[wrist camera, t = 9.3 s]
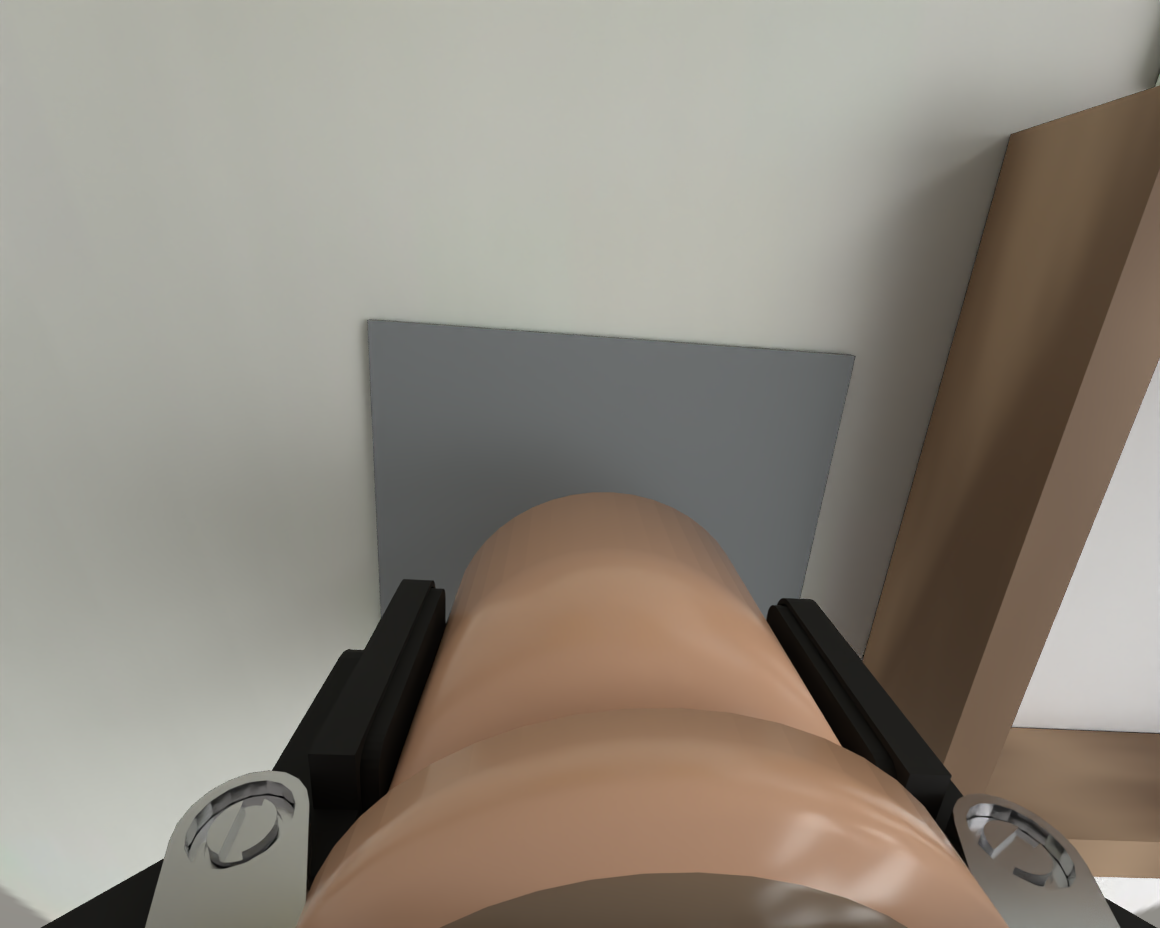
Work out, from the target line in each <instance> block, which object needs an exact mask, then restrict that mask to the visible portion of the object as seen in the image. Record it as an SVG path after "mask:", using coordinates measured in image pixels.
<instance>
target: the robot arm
mask: <svg viewBox="0 0 1160 928" xmlns="http://www.w3.org/2000/svg"><path fill="white" fill-rule="evenodd" d="M766 621H767V623H768V624H769V626H770V628H771V629H772V631H773V633H774V634H775V636H776V638H777V639H778V641H779V643H780V644H781V646H782V648H783V649H784V651H785V653H786V654H787V656H788V658H789V659H790V661H791V663H792V664H793V666H794V668H795V669H796V671H797V673H798V674H799V676H800V678H801V679H802V681H803V683H804V684H805V686H806V688H807V689H808V691H809V693H810V694H811V696H812V698H813V699H814V701H815V703H816V704H817V706H818V708H819V709H820V711H821V713H822V714H823V716H824V718H825V719H826V721H827V723H828V724H829V726H830V728H831V729H832V731H833V733H834V734H835V736H836V738H837V739H838V741H839V743H840V744H841V746H842V747H843V748H845V749H847V750H849V751H851V752H853V753H855V754H857V755H859V756H861V757H864V758H865V759H866V760H868V761H869V762H871V763H872V764H874V765H875V766H877V767H878V768H880V769H881V770H882V771H884V772H885V773H887V774H888V775H890V776H891V777H893V778H894V779H896V780H897V781H898V782H899V783H900V784H901V785H902V786H903V787H904V788H905V789H907V790H908V791H909V792H910V793H911V794H912V795H913V796H914V797H915V798H916V799H917V800H918V801H919V802H920V803H921V804H922V805H923V806H924V807H925V808H926V809H927V811H928V812H929V813H930V815H931V816H932V818H933V819H934V820H935V822H936V823H937V824H938V826H939V827H940V828H941V830H942V831H943V832H944V834H945V835H946V837H947V838H948V840H949V841H950V842H951V844H952V845H953V847H954V848H955V850H956V851H957V853H958V854H959V855H960V857H961V858H962V860H963V861H964V863H965V864H966V866H967V867H968V868H969V870H970V871H971V873H972V874H973V876H974V877H975V879H976V880H977V881H978V883H979V884H980V886H981V887H982V889H983V890H984V892H985V893H986V894H987V896H988V897H989V899H990V900H991V902H992V903H993V905H994V906H995V908H996V909H997V910H998V912H999V913H1000V915H1001V916H1002V918H1003V919H1004V921H1005V922H1006V923H1007V925H1008V926H1009V928H1156V927H1155V926H1153V925H1151V924H1149V923H1148V922H1146V921H1144V920H1142V919H1141V918H1139V917H1137V916H1136V915H1134V914H1132V913H1130V912H1129V911H1127V910H1125V909H1123V908H1122V907H1120V906H1118V905H1117V904H1115V903H1113V902H1111V901H1110V900H1108V899H1106V898H1104V896H1103V894H1102V892H1101V890H1100V888H1099V886H1098V885H1097V883H1096V881H1095V879H1094V877H1093V875H1092V873H1091V871H1090V869H1089V868H1088V866H1087V864H1086V863H1085V861H1084V860H1083V858H1082V857H1081V855H1080V854H1079V852H1078V851H1077V850H1076V848H1075V847H1074V846H1073V845H1072V844H1071V843H1070V842H1069V841H1068V840H1067V839H1066V838H1065V837H1064V836H1063V835H1062V834H1061V833H1060V832H1059V831H1058V830H1057V829H1055V828H1054V827H1053V826H1051V825H1050V824H1049V823H1047V822H1046V821H1045V820H1043V819H1042V818H1041V817H1039V816H1038V815H1036V814H1034V813H1032V812H1031V811H1029V810H1027V809H1025V808H1024V807H1022V806H1020V805H1018V804H1016V803H1013V802H1010V801H1008V800H1005V799H1003V798H1000V797H997V796H992V795H987V794H982V793H981V794H967V795H965V796H963V795H962V793H961V792H960V791H959V790H958V788H957V787H956V786H955V784H954V783H953V782H952V781H951V777H952V775H951V774H950V773H949V771H948V770H947V769H946V767H945V766H944V765H943V764H942V762H941V761H940V760H939V759H938V757H937V756H936V755H935V753H934V752H933V751H932V750H931V748H930V747H929V746H928V745H927V743H926V742H925V741H924V739H923V738H922V737H921V736H920V734H919V733H918V732H917V731H916V729H915V728H914V727H913V725H912V724H911V723H910V722H909V720H908V719H907V718H906V717H905V715H904V714H903V713H902V712H901V710H900V709H899V708H898V706H897V705H896V704H895V703H894V701H893V700H892V699H891V698H890V696H889V695H888V694H887V692H886V691H885V690H884V689H883V687H882V686H881V685H880V684H879V682H878V681H877V680H876V678H875V677H874V676H873V675H872V673H871V672H870V671H869V670H868V668H867V667H866V666H865V664H864V663H863V662H862V661H861V659H860V658H859V657H858V656H857V654H856V653H855V652H854V650H853V649H852V648H851V647H850V645H849V644H848V643H847V642H846V640H845V639H844V638H843V636H842V635H841V634H840V633H839V631H838V630H837V629H836V628H835V626H834V625H833V624H832V623H831V621H830V620H829V619H828V617H827V616H826V615H825V614H824V612H823V611H822V610H821V609H820V607H819V606H818V605H817V603H816V602H815V601H813V600H811V599H794V598H782V599H780V600H779V602H778V603H777V605H772V606H770V608H769V610H768V613H767V618H766ZM445 625H446V597H445V590H444V589H438V588H436V587H435V582H434V580H415V579H403V580H402V581H401V583H400V585H399V586H398V588H397V590H396V592H395V594H394V596H393V597H392V599H391V601H390V603H389V605H388V607H387V609H386V610H385V612H384V614H383V616H382V618H381V620H380V622H379V623H378V625H377V627H376V629H375V631H374V633H373V634H372V636H371V638H370V640H369V642H368V644H367V646H366V647H365V649H364V650H350V649H348V650H346V651H344V652H343V653H342V655H341V656H340V657H339V659H338V661H337V662H336V664H335V666H334V667H333V669H332V671H331V672H330V674H329V676H328V677H327V679H326V681H325V682H324V684H323V686H322V687H321V689H320V691H319V692H318V694H317V696H316V698H315V699H314V701H313V703H312V704H311V706H310V708H309V709H308V711H307V713H306V714H305V716H304V718H303V719H302V721H301V723H300V724H299V726H298V728H297V729H296V731H295V733H294V734H293V736H292V738H291V739H290V741H289V743H288V744H287V746H286V748H285V750H284V751H283V753H282V755H281V756H280V758H279V760H278V761H277V763H276V765H275V766H274V768H273V770H272V771H270V770H268V771H261V772H253V773H248V774H245V775H243V776H240V777H237V778H234V779H231V780H229V781H227V782H225V783H223V784H221V785H220V786H218V787H216V788H214V789H213V790H211V791H209V792H208V793H207V794H205V795H204V796H203V797H202V798H201V799H199V800H198V801H197V802H196V803H194V804H193V805H192V806H191V807H190V808H189V809H188V811H187V812H186V813H185V814H184V816H183V817H182V818H181V819H180V820H179V822H178V823H177V825H176V827H175V829H174V831H173V833H172V836H171V838H170V840H169V843H168V846H167V850H166V853H165V857H164V859H162V860H160V861H159V862H157V863H155V864H153V865H152V866H150V867H148V868H146V869H144V870H143V871H141V872H139V873H137V874H136V875H134V876H132V877H130V878H128V879H127V880H125V881H123V882H121V883H120V884H118V885H116V886H114V887H112V888H111V889H109V890H107V891H105V892H104V893H102V894H100V895H98V896H96V897H95V898H93V899H91V900H89V901H88V902H86V903H84V904H82V905H80V906H79V907H77V908H75V909H73V910H72V911H70V912H68V913H66V914H64V915H63V916H61V917H59V918H57V919H56V920H54V921H52V922H50V923H48V924H47V925H45V926H43V927H41V928H295V927H296V925H297V922H298V920H299V918H300V915H301V913H302V910H303V908H304V905H305V903H306V899H307V895H308V893H309V890H310V888H311V885H312V883H313V881H314V878H315V876H316V875H317V873H318V872H319V870H320V868H321V867H322V865H323V863H324V862H325V860H326V858H327V857H328V855H329V854H330V852H331V850H332V849H333V847H334V846H335V845H336V843H337V842H338V841H339V840H340V839H341V838H342V837H343V835H344V834H345V833H346V832H347V831H348V830H349V828H350V827H351V826H352V825H353V824H354V823H355V822H356V820H357V819H358V818H359V817H360V816H361V815H362V814H364V813H365V812H366V811H367V810H368V809H369V808H371V807H372V806H373V805H374V804H375V803H376V802H378V801H379V800H380V799H381V798H382V797H383V796H385V795H386V794H387V793H388V790H389V787H390V784H391V781H392V779H393V776H394V773H395V770H396V767H397V764H398V761H399V758H400V755H401V752H402V750H403V747H404V744H405V741H406V738H407V735H408V732H409V729H410V726H411V723H412V720H413V718H414V715H415V712H416V709H417V706H418V703H419V700H420V697H421V694H422V691H423V688H424V686H425V683H426V680H427V677H428V674H429V671H430V668H431V665H432V662H433V659H434V657H435V654H436V651H437V648H438V645H439V642H440V639H441V636H442V633H443V630H444V627H445Z"/></svg>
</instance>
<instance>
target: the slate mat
mask: <svg viewBox="0 0 1160 928" xmlns="http://www.w3.org/2000/svg"><path fill="white" fill-rule="evenodd" d="M367 321H368V342H369V364H370V386H371V408H372V430H373V452H374V473H375V495H376V517H377V539H378V561H379V583H380V604H381V618H382V616H383V614H384V612H385V610H386V609H387V607H388V605H389V603H390V601H391V599H392V597H393V596H394V594H395V592H396V590H397V588H398V586H399V585H400V583H401V581H402V580H403V579H415V580H434V582H435V587H436V588H438V589H444V590H445V597H446V622H447V619H448V616H449V613H450V610H451V607H452V604H453V601H454V598H455V596H456V593H457V590H458V587H459V584H460V582H461V579H462V577H463V575H464V572H465V570H466V568H467V567H468V565H469V563H470V562H471V560H472V558H473V557H474V555H475V554H476V553H477V551H478V550H479V549H480V548H481V546H482V545H483V544H484V543H485V541H486V540H487V539H489V538H490V537H491V536H492V535H493V534H494V533H495V532H496V531H497V530H498V529H499V528H500V527H502V526H503V525H505V524H506V523H507V522H509V521H510V520H511V519H513V518H514V517H516V516H518V515H519V514H521V513H523V512H525V511H527V510H529V509H531V508H532V507H535V506H537V505H540V504H543V503H545V502H548V501H550V500H554V499H558V498H562V497H566V496H570V495H575V494H583V493H591V492H614V493H623V494H631V495H636V496H640V497H644V498H648V499H652V500H655V501H657V502H660V503H663V504H665V505H668V506H670V507H672V508H674V509H676V510H678V511H680V512H681V513H683V514H685V515H687V516H688V517H690V518H691V519H692V520H694V521H695V522H696V523H698V524H699V525H700V526H702V527H703V528H704V529H705V530H706V531H707V532H708V533H709V534H710V535H711V536H712V537H713V538H714V539H715V540H716V541H717V542H718V544H719V545H720V546H721V548H722V549H723V550H724V552H725V553H726V554H727V556H728V558H729V559H730V561H731V563H732V564H733V566H734V568H735V569H736V571H737V573H738V574H739V576H740V578H741V579H742V581H743V583H744V584H745V586H746V588H747V589H748V591H749V593H750V594H751V596H752V598H753V599H754V601H755V603H756V604H757V606H758V608H759V609H760V611H761V613H762V614H763V616H764V618H765V619H766V618H767V613H768V610H769V608H770V606H772V605H777V603H778V602H779V600H780V599H782V598H794V599H800V596H801V591H802V587H803V583H804V578H805V574H806V570H807V565H808V561H809V556H810V552H811V548H812V543H813V539H814V535H815V530H816V526H817V522H818V517H819V513H820V509H821V504H822V500H823V495H824V491H825V487H826V482H827V478H828V474H829V469H830V465H831V461H832V456H833V452H834V447H835V443H836V439H837V434H838V430H839V426H840V421H841V417H842V413H843V408H844V404H845V400H846V395H847V391H848V386H849V382H850V378H851V373H852V369H853V365H854V360H855V356H853V355H845V354H831V353H818V352H804V351H791V350H777V349H764V348H750V347H736V346H723V345H709V344H696V343H682V342H669V341H655V340H642V339H628V338H614V337H601V336H587V335H574V334H560V333H547V332H533V331H520V330H506V329H492V328H479V327H465V326H452V325H438V324H425V323H411V322H398V321H384V320H367Z"/></svg>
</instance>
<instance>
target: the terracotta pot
mask: <svg viewBox="0 0 1160 928" xmlns="http://www.w3.org/2000/svg"><path fill="white" fill-rule="evenodd" d="M295 928H1009V926H1008V925H1007V923H1006V922H1005V921H1004V919H1003V918H1002V916H1001V915H1000V913H999V912H998V910H997V909H996V908H995V906H994V905H993V903H992V902H991V900H990V899H989V897H988V896H987V894H986V893H985V892H984V890H983V889H982V887H981V886H980V884H979V883H978V881H977V880H976V879H975V877H974V876H973V874H972V873H971V871H970V870H969V868H968V867H967V866H966V864H965V863H964V861H963V860H962V858H961V857H960V855H959V854H958V853H957V851H956V850H955V848H954V847H953V845H952V844H951V842H950V841H949V840H948V838H947V837H946V835H945V834H944V832H943V831H942V830H941V828H940V827H939V826H938V824H937V823H936V822H935V820H934V819H933V818H932V816H931V815H930V813H929V812H928V811H927V809H926V808H925V807H924V806H923V805H922V804H921V803H920V802H919V801H918V800H917V799H916V798H915V797H914V796H913V795H912V794H911V793H910V792H909V791H908V790H907V789H905V788H904V787H903V786H902V785H901V784H900V783H899V782H898V781H897V780H896V779H894V778H893V777H891V776H890V775H888V774H887V773H885V772H884V771H882V770H881V769H880V768H878V767H877V766H875V765H874V764H872V763H871V762H869V761H868V760H866V759H865V758H864V757H861V756H859V755H857V754H855V753H853V752H851V751H849V750H847V749H845V748H843V747H842V746H841V744H840V743H839V741H838V739H837V738H836V736H835V734H834V733H833V731H832V729H831V728H830V726H829V724H828V723H827V721H826V719H825V718H824V716H823V714H822V713H821V711H820V709H819V708H818V706H817V704H816V703H815V701H814V699H813V698H812V696H811V694H810V693H809V691H808V689H807V688H806V686H805V684H804V683H803V681H802V679H801V678H800V676H799V674H798V673H797V671H796V669H795V668H794V666H793V664H792V663H791V661H790V659H789V658H788V656H787V654H786V653H785V651H784V649H783V648H782V646H781V644H780V643H779V641H778V639H777V638H776V636H775V634H774V633H773V631H772V629H771V628H770V626H769V624H768V623H767V621H766V619H765V618H764V616H763V614H762V613H761V611H760V609H759V608H758V606H757V604H756V603H755V601H754V599H753V598H752V596H751V594H750V593H749V591H748V589H747V588H746V586H745V584H744V583H743V581H742V579H741V578H740V576H739V574H738V573H737V571H736V569H735V568H734V566H733V564H732V563H731V561H730V559H729V558H728V556H727V554H726V553H725V552H724V550H723V549H722V548H721V546H720V545H719V544H718V542H717V541H716V540H715V539H714V538H713V537H712V536H711V535H710V534H709V533H708V532H707V531H706V530H705V529H704V528H703V527H702V526H700V525H699V524H698V523H696V522H695V521H694V520H692V519H691V518H690V517H688V516H687V515H685V514H683V513H681V512H680V511H678V510H676V509H674V508H672V507H670V506H668V505H665V504H663V503H660V502H657V501H655V500H652V499H648V498H644V497H640V496H636V495H631V494H623V493H614V492H591V493H583V494H575V495H570V496H566V497H562V498H558V499H554V500H550V501H548V502H545V503H543V504H540V505H537V506H535V507H532V508H531V509H529V510H527V511H525V512H523V513H521V514H519V515H518V516H516V517H514V518H513V519H511V520H510V521H509V522H507V523H506V524H505V525H503V526H502V527H500V528H499V529H498V530H497V531H496V532H495V533H494V534H493V535H492V536H491V537H490V538H489V539H487V540H486V541H485V543H484V544H483V545H482V546H481V548H480V549H479V550H478V551H477V553H476V554H475V555H474V557H473V558H472V560H471V562H470V563H469V565H468V567H467V568H466V570H465V572H464V575H463V577H462V579H461V582H460V584H459V587H458V590H457V593H456V596H455V598H454V601H453V604H452V607H451V610H450V613H449V616H448V619H447V622H446V625H445V627H444V630H443V633H442V636H441V639H440V642H439V645H438V648H437V651H436V654H435V657H434V659H433V662H432V665H431V668H430V671H429V674H428V677H427V680H426V683H425V686H424V688H423V691H422V694H421V697H420V700H419V703H418V706H417V709H416V712H415V715H414V718H413V720H412V723H411V726H410V729H409V732H408V735H407V738H406V741H405V744H404V747H403V750H402V752H401V755H400V758H399V761H398V764H397V767H396V770H395V773H394V776H393V779H392V781H391V784H390V787H389V790H388V793H387V794H386V795H385V796H383V797H382V798H381V799H380V800H379V801H378V802H376V803H375V804H374V805H373V806H372V807H371V808H369V809H368V810H367V811H366V812H365V813H364V814H362V815H361V816H360V817H359V818H358V819H357V820H356V822H355V823H354V824H353V825H352V826H351V827H350V828H349V830H348V831H347V832H346V833H345V834H344V835H343V837H342V838H341V839H340V840H339V841H338V842H337V843H336V845H335V846H334V847H333V849H332V850H331V852H330V854H329V855H328V857H327V858H326V860H325V862H324V863H323V865H322V867H321V868H320V870H319V872H318V873H317V875H316V876H315V878H314V881H313V883H312V885H311V888H310V890H309V893H308V895H307V899H306V903H305V905H304V908H303V910H302V913H301V915H300V918H299V920H298V922H297V925H296V927H295Z"/></svg>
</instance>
